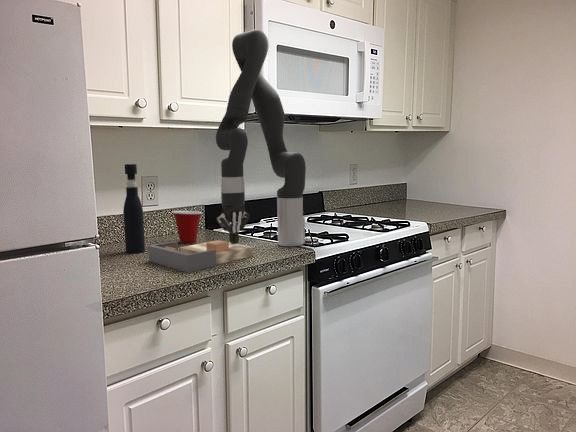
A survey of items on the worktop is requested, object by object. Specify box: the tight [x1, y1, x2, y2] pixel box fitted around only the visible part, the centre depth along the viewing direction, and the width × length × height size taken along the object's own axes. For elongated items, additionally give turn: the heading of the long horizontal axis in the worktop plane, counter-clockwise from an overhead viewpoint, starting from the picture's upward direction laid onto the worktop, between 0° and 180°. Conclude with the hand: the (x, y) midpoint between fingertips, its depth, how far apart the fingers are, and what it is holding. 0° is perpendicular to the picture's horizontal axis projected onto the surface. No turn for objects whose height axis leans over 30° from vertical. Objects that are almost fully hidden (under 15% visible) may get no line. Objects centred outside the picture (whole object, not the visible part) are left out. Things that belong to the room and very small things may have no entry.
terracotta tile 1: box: [165, 246, 180, 252], centre depth 152 cm, size 5×5×2 cm
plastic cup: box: [172, 210, 203, 245], centre depth 183 cm, size 11×11×12 cm
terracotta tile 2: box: [205, 240, 230, 253], centre depth 155 cm, size 5×5×2 cm
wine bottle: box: [123, 163, 146, 254], centre depth 166 cm, size 6×6×30 cm
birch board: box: [179, 239, 254, 265], centre depth 160 cm, size 16×18×3 cm
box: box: [147, 240, 217, 273], centre depth 150 cm, size 10×21×5 cm, turn 46°
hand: (234, 243), depth 160 cm, fingers closed
